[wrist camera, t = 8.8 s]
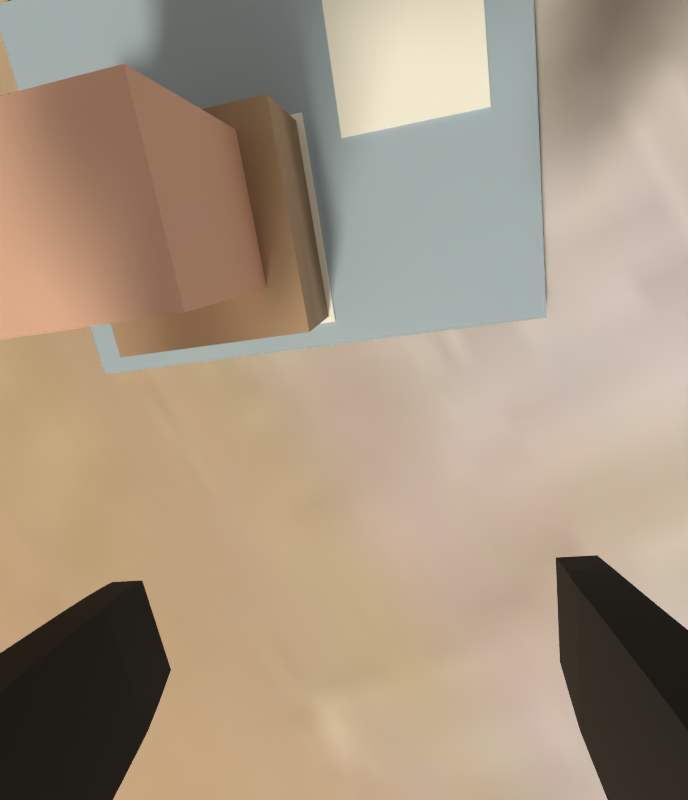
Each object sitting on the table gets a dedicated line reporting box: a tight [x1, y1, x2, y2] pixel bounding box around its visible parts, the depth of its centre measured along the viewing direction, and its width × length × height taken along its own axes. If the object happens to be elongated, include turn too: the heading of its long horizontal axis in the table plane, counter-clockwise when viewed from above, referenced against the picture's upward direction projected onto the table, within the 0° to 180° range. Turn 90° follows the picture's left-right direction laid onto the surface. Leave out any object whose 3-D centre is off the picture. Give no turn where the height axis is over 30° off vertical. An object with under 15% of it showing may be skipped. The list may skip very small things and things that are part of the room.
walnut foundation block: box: [111, 94, 329, 358], centre depth 15 cm, size 6×6×3 cm
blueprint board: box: [0, 0, 546, 374], centre depth 16 cm, size 16×12×1 cm
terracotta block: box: [0, 64, 267, 340], centre depth 11 cm, size 4×4×5 cm
